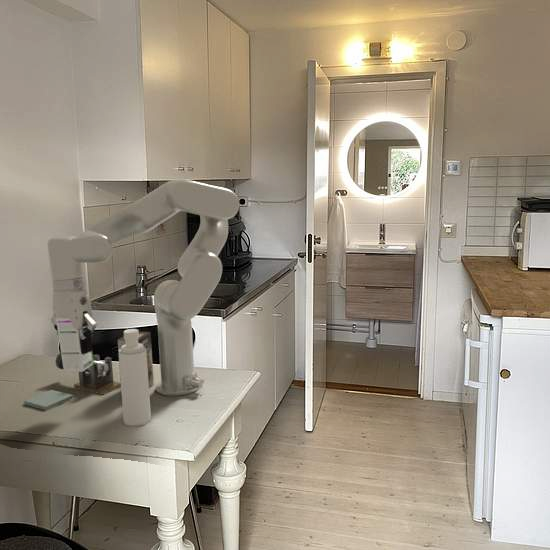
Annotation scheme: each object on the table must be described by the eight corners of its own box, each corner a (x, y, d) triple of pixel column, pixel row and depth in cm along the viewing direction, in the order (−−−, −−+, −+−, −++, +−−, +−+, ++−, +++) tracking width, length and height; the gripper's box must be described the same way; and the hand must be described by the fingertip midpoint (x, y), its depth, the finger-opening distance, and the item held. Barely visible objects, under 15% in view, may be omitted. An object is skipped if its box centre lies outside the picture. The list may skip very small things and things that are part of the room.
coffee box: (141, 395, 159) (137, 340, 156) (120, 394, 160) (116, 339, 158) (154, 384, 168) (151, 331, 165) (134, 383, 169) (130, 330, 166)
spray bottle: (142, 427, 139) (135, 328, 135) (118, 424, 141) (111, 327, 137) (155, 416, 145) (149, 321, 141) (132, 413, 147) (125, 320, 143)
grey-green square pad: (73, 398, 159) (73, 395, 158) (46, 410, 151) (45, 406, 151) (51, 393, 163) (51, 389, 163) (24, 404, 155) (24, 400, 155)
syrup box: (83, 372, 146) (77, 317, 143) (62, 371, 147) (55, 317, 144) (94, 364, 152) (88, 311, 149) (74, 364, 153) (67, 312, 150)
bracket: (122, 386, 167) (119, 358, 165) (103, 394, 161) (101, 366, 159) (93, 379, 173) (91, 353, 171) (74, 387, 167) (71, 360, 165)
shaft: (111, 374, 167) (109, 357, 166) (97, 380, 163) (96, 363, 162) (70, 366, 176) (68, 350, 175) (56, 371, 171) (54, 354, 170)
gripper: (103, 283, 144) (111, 350, 147) (57, 279, 153) (65, 343, 156) (80, 289, 138) (88, 359, 141) (33, 285, 146) (42, 351, 150)
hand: (76, 350), depth 148 cm, fingers closed on syrup box, 7 cm apart
